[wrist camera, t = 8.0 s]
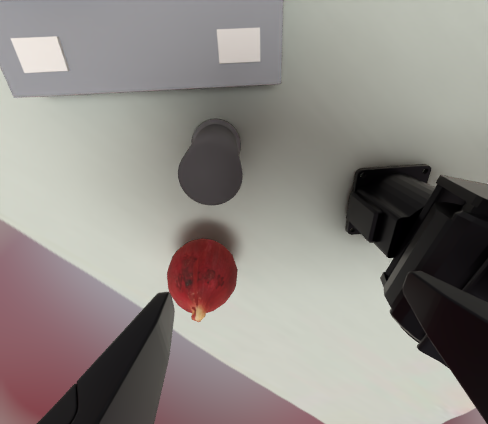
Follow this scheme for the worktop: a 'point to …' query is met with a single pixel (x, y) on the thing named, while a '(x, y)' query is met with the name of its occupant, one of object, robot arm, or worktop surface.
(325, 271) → the worktop surface
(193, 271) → the onion
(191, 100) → the worktop surface
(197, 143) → the cable post
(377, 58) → the worktop surface
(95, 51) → the panel
